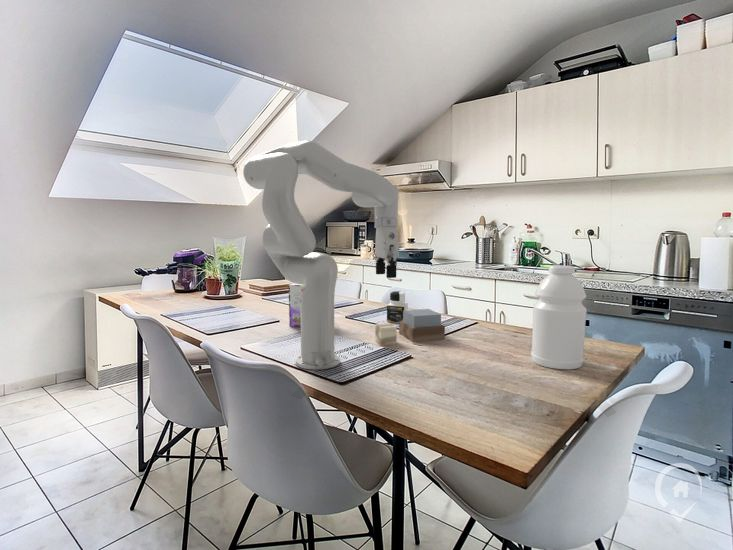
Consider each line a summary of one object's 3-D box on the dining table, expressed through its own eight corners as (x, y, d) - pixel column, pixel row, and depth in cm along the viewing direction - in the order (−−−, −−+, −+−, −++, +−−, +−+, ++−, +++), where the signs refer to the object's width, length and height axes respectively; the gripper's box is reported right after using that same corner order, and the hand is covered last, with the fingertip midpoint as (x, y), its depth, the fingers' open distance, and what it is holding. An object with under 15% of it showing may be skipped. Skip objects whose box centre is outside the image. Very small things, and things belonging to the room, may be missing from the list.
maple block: (396, 344, 147) (396, 326, 146) (380, 346, 145) (380, 328, 144) (390, 340, 152) (390, 323, 151) (375, 341, 150) (375, 324, 149)
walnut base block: (444, 340, 153) (444, 326, 152) (412, 343, 149) (412, 328, 149) (429, 332, 164) (429, 318, 164) (399, 334, 161) (399, 321, 160)
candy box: (327, 324, 174) (326, 282, 172) (324, 327, 169) (324, 285, 167) (292, 323, 176) (292, 282, 174) (288, 326, 170) (288, 284, 168)
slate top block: (440, 325, 153) (441, 314, 153) (413, 327, 150) (414, 316, 150) (428, 319, 163) (428, 308, 162) (403, 321, 160) (403, 310, 159)
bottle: (551, 372, 120) (557, 269, 117) (520, 357, 133) (525, 264, 130) (594, 367, 124) (601, 268, 120) (560, 353, 137) (565, 263, 134)
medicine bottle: (386, 322, 178) (386, 292, 177) (390, 318, 185) (391, 290, 184) (404, 323, 176) (404, 293, 175) (407, 319, 183) (408, 291, 181)
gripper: (407, 223, 137) (407, 278, 139) (387, 223, 153) (386, 272, 155) (385, 223, 134) (384, 279, 136) (366, 223, 151) (366, 273, 153)
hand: (385, 275), depth 146 cm, fingers open, 9 cm apart
